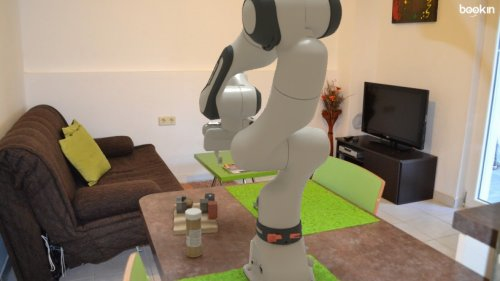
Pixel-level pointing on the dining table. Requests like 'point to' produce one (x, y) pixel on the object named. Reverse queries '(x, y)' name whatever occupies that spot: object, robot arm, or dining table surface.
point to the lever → (209, 205)
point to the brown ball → (189, 202)
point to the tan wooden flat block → (180, 219)
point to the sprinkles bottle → (193, 232)
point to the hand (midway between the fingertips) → (234, 162)
